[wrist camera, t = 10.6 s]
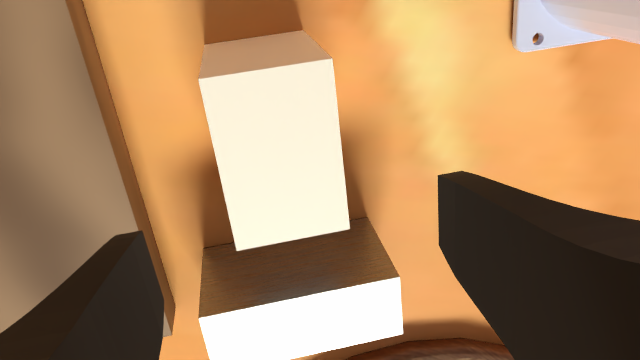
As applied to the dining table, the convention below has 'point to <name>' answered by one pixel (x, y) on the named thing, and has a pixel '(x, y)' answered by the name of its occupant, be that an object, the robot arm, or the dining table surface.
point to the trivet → (439, 351)
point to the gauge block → (275, 137)
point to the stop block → (299, 296)
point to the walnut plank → (59, 157)
